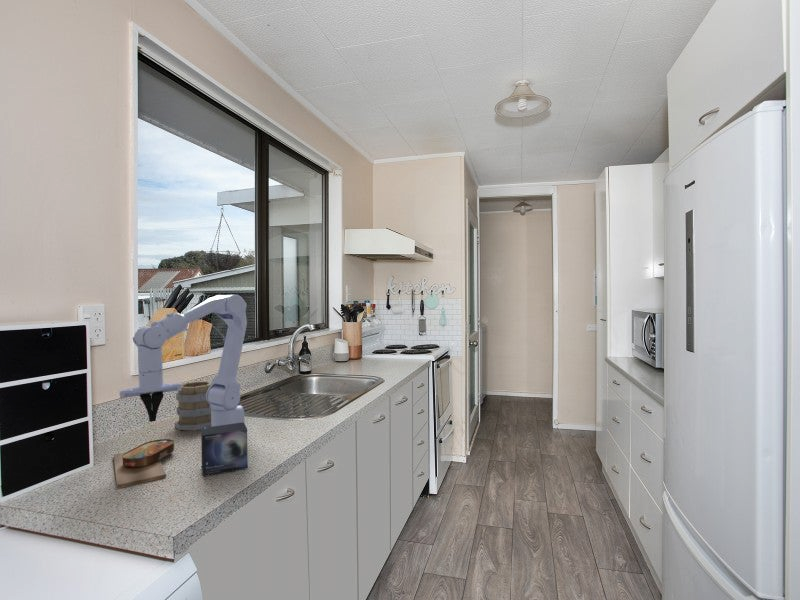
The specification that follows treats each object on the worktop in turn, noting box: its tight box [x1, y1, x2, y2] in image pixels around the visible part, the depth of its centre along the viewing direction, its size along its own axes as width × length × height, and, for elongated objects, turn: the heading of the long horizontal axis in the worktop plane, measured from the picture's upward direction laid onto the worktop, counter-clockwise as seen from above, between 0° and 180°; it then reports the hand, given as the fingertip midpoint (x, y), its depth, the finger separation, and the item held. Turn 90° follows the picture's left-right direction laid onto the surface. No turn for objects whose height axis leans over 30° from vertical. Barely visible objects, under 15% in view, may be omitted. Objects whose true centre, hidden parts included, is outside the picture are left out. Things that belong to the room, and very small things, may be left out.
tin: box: [122, 438, 175, 467], centre depth 119 cm, size 15×3×8 cm
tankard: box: [174, 380, 212, 432], centre depth 154 cm, size 20×13×15 cm, turn 132°
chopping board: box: [113, 451, 167, 489], centre depth 115 cm, size 10×24×1 cm, turn 34°
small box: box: [200, 422, 249, 477], centre depth 113 cm, size 11×6×10 cm, turn 117°
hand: (152, 420), depth 121 cm, fingers closed
